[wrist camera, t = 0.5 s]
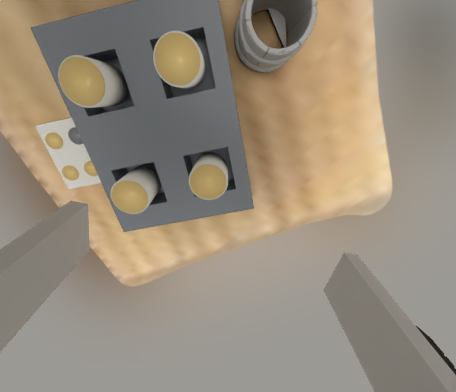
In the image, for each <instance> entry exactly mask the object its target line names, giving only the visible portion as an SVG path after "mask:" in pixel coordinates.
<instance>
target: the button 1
mask: <svg viewBox="0 0 456 392" xmlns="http://www.w3.org/2000/svg"><path fill="white" fill-rule="evenodd" d="M58 78H59V83H60V86H61V88H62V90H63V92H64V94H65V95H66V96H67V97H68V98H69V99H70V100H71V101H72V102H73V103H75V104H77V105H79V106H81V107H85V108H95V107H108V106H116V105H118V104H120V103H121V102H122V101H123V100H124V99H125V97H126V93H127V84H126V80H125V78H124V76H123V74H122V73H121V72H120V71H119V70H118V69H117V68H116V67H115V66H113V65H112V64H109V63H106V62H102V61H99V60H95V59H92V58H88V57H85V56H82V55H72V56H69V57H67V58H66V59H64V60H63V61H62V63H61V65H60V67H59V71H58Z"/></svg>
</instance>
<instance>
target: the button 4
mask: <svg viewBox="0 0 456 392" xmlns="http://www.w3.org/2000/svg"><path fill="white" fill-rule="evenodd" d="M189 186H190V189H191V190H192V192H193V193H194V194H195V195H196V196H198V197H199V198H202V199H205V200H213V199H216V198H219V197H220V196H222V195H223V194H224V193H225V191H226V189H227V187H228V166H227V163H226V161H225V160H224V159H223V158H222V157H221V156H220V155H218V154H215V153H206V154H203V155H202V156H200V157H199V158H198V159H197V160H196V162H195V164H194V166H193V169H192V171H191V173H190V175H189Z"/></svg>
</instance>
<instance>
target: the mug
mask: <svg viewBox="0 0 456 392" xmlns="http://www.w3.org/2000/svg"><path fill="white" fill-rule="evenodd" d="M317 3H318V1H317V0H244V2H243V4H242V6H241V8H240V16H239V18H238V19H237V21H236V28H235V46H236V50H237V53H238V55H239V57H240V59H241V60H242V61H243V63H244V64H245V65H246V66H248V67H249V68H250V69H252V70H254V71H258V72H267V73H268V72H271V71H274V70H276V69H278V68H280V67H281V66H282V65H284V64H285V63H286V62H287V61H288V60H289V59H290V58H291V57H292V56H293V55H295V54H296V53H297V52H298V51H299V49H300V48H301V47H302V45H303V44H304V42H305V41H306V40H307V38H308V37H309V35H310V33H311V32H312V29H313V27H314V24H315V21H316V17H317V7H316V5H317ZM261 10H269V12H270V15H271V17H272V19H273V22H274V24H275V27H276V29H277V32H278V34H279V36H280V39H281V41H282V44H283V46H284V48H272V47H268V46H267V45H265V44H264V43H263V42H262V41H261V40H260V39H259V38H258V36H257V35H256V33H255V31H254V28H253V25H252V21H251V16H252V15H253V14H254V13H256V12H258V11H261ZM286 28H287V33H288V35H287V45H286Z"/></svg>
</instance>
